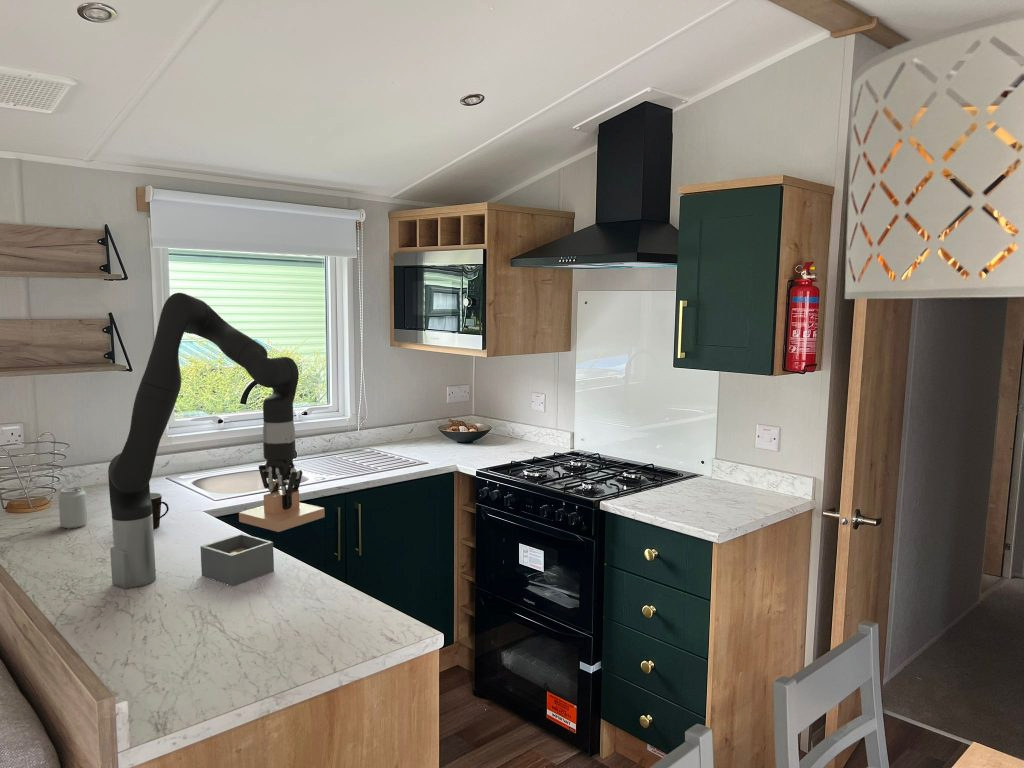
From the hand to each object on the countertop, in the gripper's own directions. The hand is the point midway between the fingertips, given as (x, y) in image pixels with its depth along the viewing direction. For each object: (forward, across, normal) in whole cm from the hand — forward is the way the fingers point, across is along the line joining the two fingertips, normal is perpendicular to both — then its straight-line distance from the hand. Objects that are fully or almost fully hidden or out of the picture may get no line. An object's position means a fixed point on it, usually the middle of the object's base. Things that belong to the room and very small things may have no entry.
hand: (281, 507), depth 188 cm
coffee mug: (+21, -73, +9) cm, 76 cm away
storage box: (+21, -18, 0) cm, 27 cm away
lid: (+3, 0, 0) cm, 3 cm away
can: (+21, -95, -3) cm, 97 cm away
